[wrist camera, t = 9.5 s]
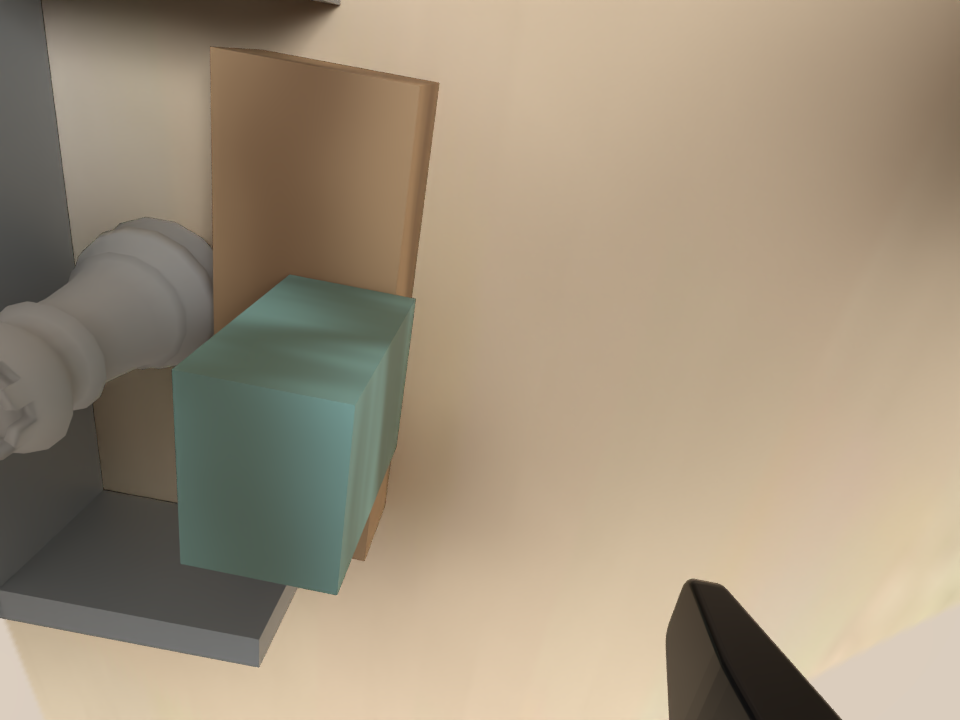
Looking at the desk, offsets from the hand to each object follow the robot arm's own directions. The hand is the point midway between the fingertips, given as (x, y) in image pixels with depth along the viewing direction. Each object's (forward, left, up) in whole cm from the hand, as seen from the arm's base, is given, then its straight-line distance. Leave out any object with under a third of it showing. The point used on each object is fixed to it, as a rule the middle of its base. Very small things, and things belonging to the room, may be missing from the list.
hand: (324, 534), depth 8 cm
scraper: (+3, +2, -12) cm, 13 cm away
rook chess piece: (+9, +2, -12) cm, 15 cm away
